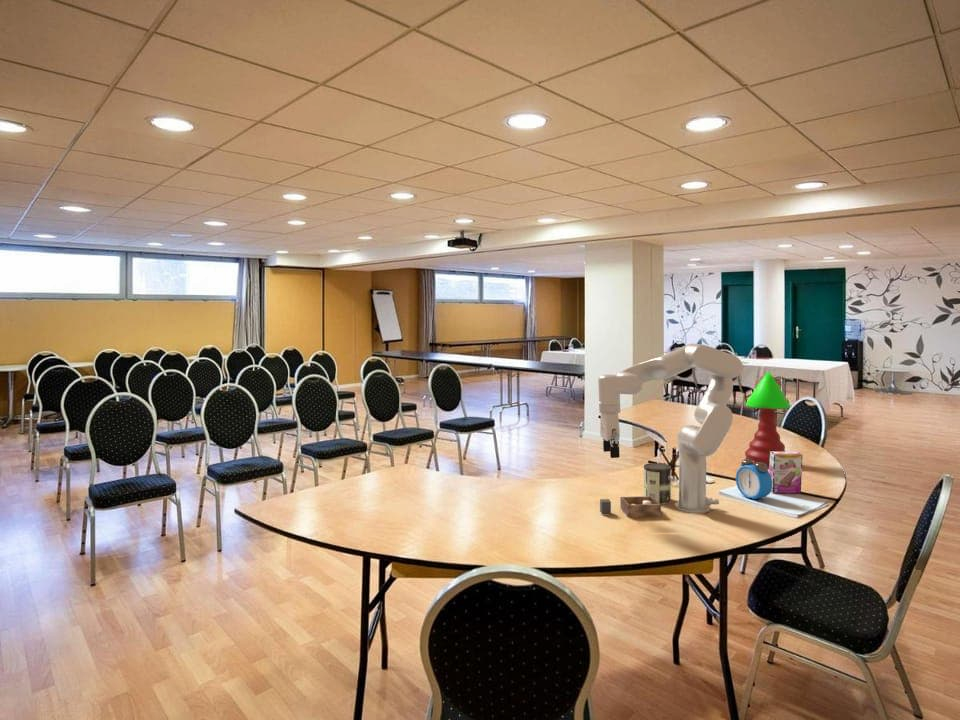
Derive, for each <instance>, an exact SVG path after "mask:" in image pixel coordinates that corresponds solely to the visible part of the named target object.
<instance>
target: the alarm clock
mask: <svg viewBox="0 0 960 720" xmlns="http://www.w3.org/2000/svg"><path fill="white" fill-rule="evenodd" d="M744 459H745V458H744ZM744 459H743V460H742V461H741V462H740V467H739V468H738V470H737V472H736V474H735V485H736V487H737V489H738V490H739V492H740V494H742V495H744V496H743V497H745V496H746V497H745V498H747V497H749V498H752V499H751V500H755V499H757V500H758V499H761V498H766V497H768V496H769V495H770V494H771V493H772V492H771V490H772V478H771V475H770V473H769V468H768V467H767V465H766V464H764V463H762V462H758V463H756V464H753V463H755V462H754V461H753V460H751V459H745V460H744ZM750 464H751V465H750ZM749 498H748V499H749Z"/></svg>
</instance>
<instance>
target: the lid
mask: <svg viewBox="0 0 960 720" xmlns="http://www.w3.org/2000/svg"><path fill="white" fill-rule="evenodd" d="M611 510H612V502H611V500H610V499H609V498H603V499H601V498H600V499H599V512H601V513H602V514H611V515H612V511H611ZM601 513H600V514H601ZM602 514H601V515H602Z"/></svg>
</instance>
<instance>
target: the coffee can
mask: <svg viewBox="0 0 960 720" xmlns="http://www.w3.org/2000/svg"><path fill="white" fill-rule="evenodd" d="M671 475H672V466H671V465H669V464H665V463H660V462H651V463H650V462H649V463H645V464H644V465H643V496H652V497H653V498H655V499H656V500H657V501H658V502H659V503H660V504H661V505H665V504H669V503H671V500H672V498H671V495H672V494H671V493H672V492H671V491H672V488H671V487H672V486H671V485H672V482H671V481H672V476H671Z"/></svg>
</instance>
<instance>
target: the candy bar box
mask: <svg viewBox="0 0 960 720" xmlns="http://www.w3.org/2000/svg"><path fill="white" fill-rule="evenodd" d="M802 471H803V454H802V453H801V452H798V451H785V452H772V451H771V452H770V466H769V468H768V472H769V473H770V475H771V478H772V490H771V492H770V493H772V492H773V493H772V494H786V493H787V494H791V495H792V494H793V495H794V494H799V495H801V494H802V477H803V475H802V474H803V473H802Z"/></svg>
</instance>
